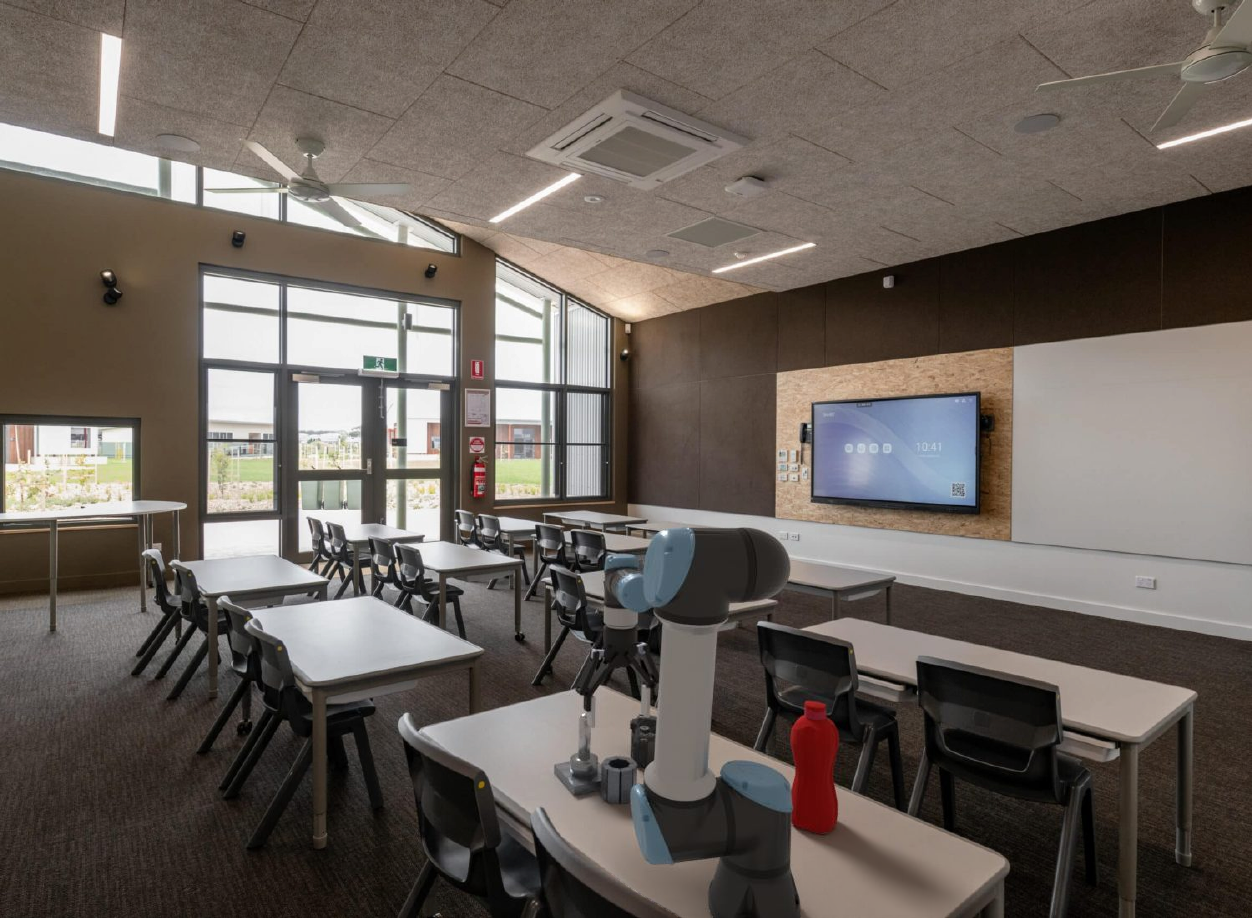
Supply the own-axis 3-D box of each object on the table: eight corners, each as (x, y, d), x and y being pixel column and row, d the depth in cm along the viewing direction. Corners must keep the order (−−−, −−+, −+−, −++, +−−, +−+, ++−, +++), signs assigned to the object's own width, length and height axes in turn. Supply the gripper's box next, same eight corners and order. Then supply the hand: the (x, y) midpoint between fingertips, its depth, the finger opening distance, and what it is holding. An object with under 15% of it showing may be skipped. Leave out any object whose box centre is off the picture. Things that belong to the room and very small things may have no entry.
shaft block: (614, 786, 156) (615, 719, 156) (574, 795, 151) (575, 726, 151) (592, 764, 167) (593, 702, 166) (554, 772, 162) (555, 708, 162)
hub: (641, 799, 150) (642, 767, 150) (610, 806, 147) (611, 774, 147) (625, 784, 157) (626, 753, 157) (596, 791, 153) (596, 760, 153)
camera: (673, 764, 168) (674, 724, 168) (636, 770, 164) (637, 729, 164) (652, 743, 180) (652, 705, 180) (616, 748, 176) (617, 709, 176)
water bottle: (842, 815, 145) (845, 697, 145) (829, 840, 136) (832, 714, 135) (799, 803, 150) (802, 689, 150) (784, 826, 140) (786, 704, 140)
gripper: (660, 615, 161) (658, 706, 161) (561, 626, 149) (559, 723, 149) (677, 623, 154) (675, 717, 154) (575, 634, 142) (573, 736, 143)
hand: (618, 720), depth 152 cm, fingers open, 13 cm apart
